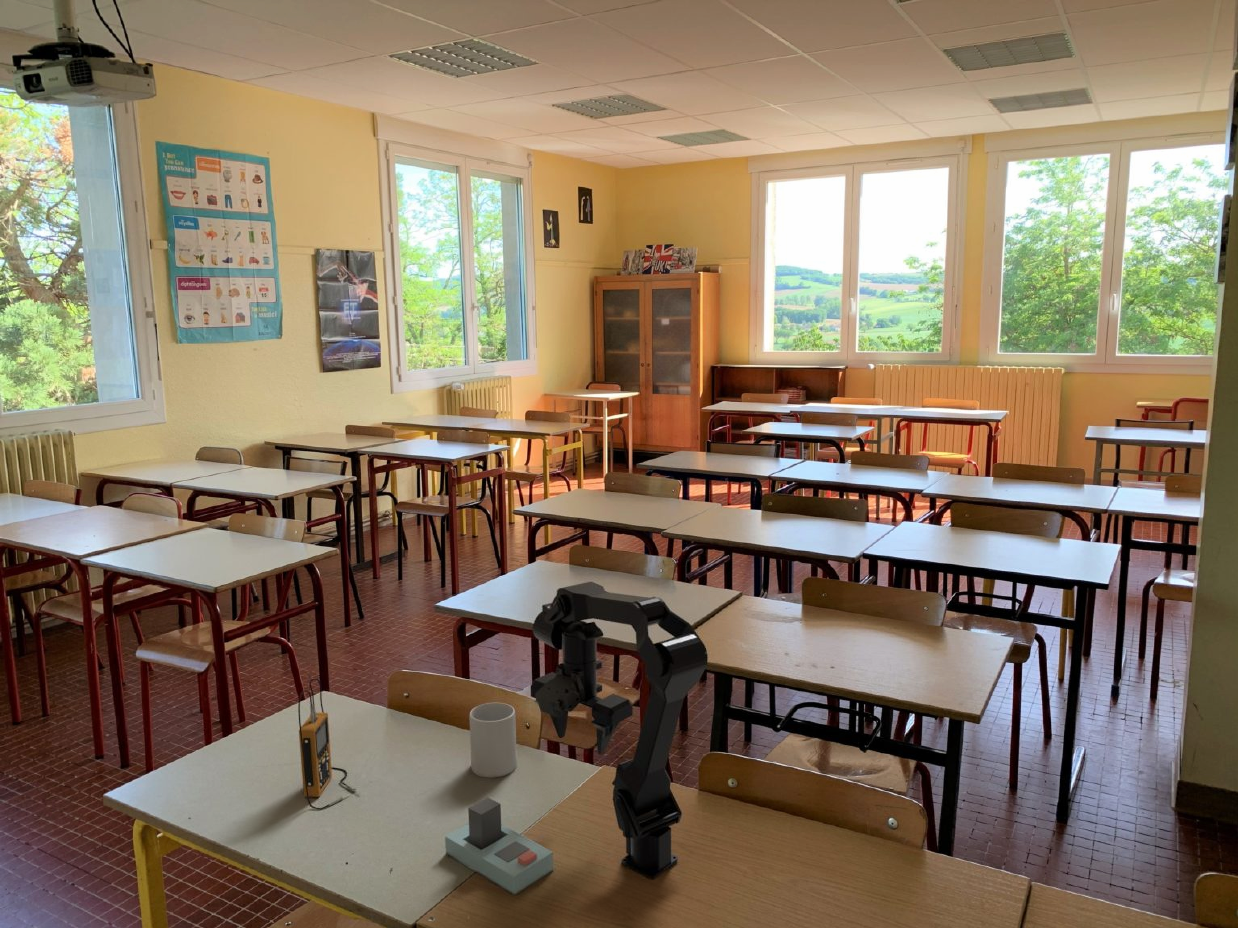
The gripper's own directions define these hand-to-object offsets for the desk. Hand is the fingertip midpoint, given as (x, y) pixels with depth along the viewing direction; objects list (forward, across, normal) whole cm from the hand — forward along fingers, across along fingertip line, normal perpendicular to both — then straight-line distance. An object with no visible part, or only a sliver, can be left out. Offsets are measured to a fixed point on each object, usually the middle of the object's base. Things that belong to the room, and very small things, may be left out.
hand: (581, 745), depth 153 cm
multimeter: (+12, -39, -23) cm, 47 cm away
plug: (+12, -3, -19) cm, 22 cm away
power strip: (+12, 0, -19) cm, 22 cm away
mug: (+12, -24, +2) cm, 27 cm away
